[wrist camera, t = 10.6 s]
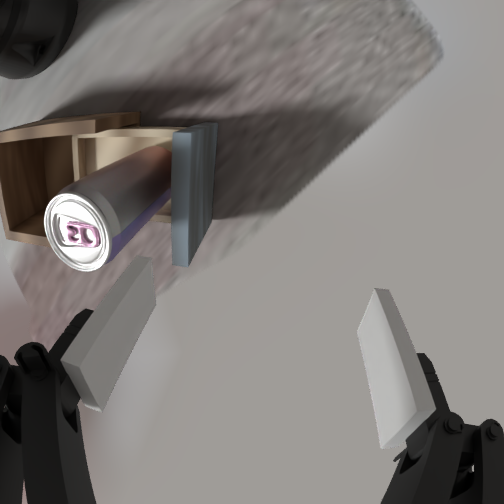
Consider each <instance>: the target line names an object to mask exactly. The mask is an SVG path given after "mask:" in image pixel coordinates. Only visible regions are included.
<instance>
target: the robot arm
mask: <svg viewBox="0 0 504 504" xmlns="http://www.w3.org/2000/svg"><path fill="white" fill-rule="evenodd" d="M76 13H77V0H0V76H3V77H5V78H8V79H24V78H30V77H33V76H35V75H37V74H39V73H40V72H41V71H43V70H44V69H45V68H46V67H47V66H48V65H49V64H50V63H51V62H52V61H53V60H54V59H55V58H56V56H57V55H58V54H59V52H60V51H61V49H62V48H63V46H64V44H65V43H66V41H67V39H68V37H69V35H70V32H71V30H72V27H73V24H74V21H75V17H76ZM155 306H156V299H155V289H154V278H153V266H152V258H150V257H144V256H136V257H135V259H134V260H133V261H132V262H131V263H130V265H129V266H128V267H127V268H126V270H125V271H124V272H123V274H122V275H121V276H120V277H119V279H118V280H117V281H116V283H115V284H114V285H113V286H112V288H111V289H110V290H109V292H108V293H107V294H106V296H105V297H104V298H103V300H102V301H101V302H100V304H99V305H98V306H97V308H96V309H95V311H93V310H89V309H84V310H83V311H81V312H80V313H78V314H77V315H76V316H75V317H74V318H73V320H72V321H71V322H70V324H69V326H67V328H66V329H65V330H64V333H62V334H61V336H60V337H59V339H58V340H57V341H56V343H55V344H54V346H53V347H52V348H51V350H50V351H49V353H48V352H47V350H46V348H45V347H44V346H43V345H42V344H40V343H38V342H30V343H27V344H25V345H23V346H21V347H20V348H19V349H18V351H17V352H16V354H15V357H14V359H15V360H16V362H17V364H18V365H19V366H15V365H10V364H9V362H8V360H7V359H6V358H5V357H4V356H2V355H0V504H22V492H23V482H24V481H25V489H26V496H27V503H28V504H96V501H95V497H94V493H93V489H92V484H91V480H90V476H89V471H88V466H87V461H86V455H85V450H84V443H83V436H82V430H81V421H80V413H79V409H78V406H77V404H78V402H79V400H80V398H81V399H82V401H83V403H84V405H85V406H86V407H89V408H91V409H94V410H97V411H99V412H103V410H104V408H105V406H106V403H107V401H108V399H109V397H110V395H111V393H112V391H113V389H114V386H115V384H116V382H117V380H118V378H119V376H120V374H121V372H122V370H123V368H124V366H125V364H126V362H127V360H128V358H129V356H130V354H131V352H132V350H133V348H134V346H135V344H136V342H137V340H138V338H139V336H140V334H141V332H142V330H143V328H144V327H145V325H146V323H147V321H148V319H149V317H150V315H151V313H152V311H153V309H154V308H155ZM357 335H358V339H359V343H360V347H361V351H362V355H363V360H364V364H365V369H366V373H367V378H368V382H369V387H370V392H371V397H372V402H373V407H374V413H375V418H376V423H377V429H378V435H379V441H380V447H381V449H384V448H393V447H399V445H401V444H402V443H403V442H404V441H405V440H406V444H407V448H406V449H404V450H403V451H402V452H401V453H400V454H399V455H398V456H397V457H395V459H394V460H393V461H394V462H396V461H397V460H398V459H400V461H399V463H398V466H397V468H396V471H395V473H394V475H393V478H392V480H391V482H390V485H389V487H388V489H387V491H386V493H385V495H384V497H383V499H382V502H381V504H504V433H503V429H502V427H501V425H500V424H499V423H498V422H497V421H495V420H493V419H487V420H486V421H484V422H483V423H482V424H481V425H480V426H475V425H469V424H464V421H463V419H462V418H461V417H460V416H459V415H457V414H456V413H454V412H450V409H449V407H448V404H447V401H446V398H445V395H444V393H443V390H442V387H441V385H440V382H438V381H439V379H438V377H437V375H436V374H435V369H434V367H433V364H432V362H431V361H430V360H429V359H428V357H427V356H426V355H425V354H424V353H416V351H415V349H414V346H413V344H412V341H411V339H410V337H409V334H408V332H407V329H406V327H405V324H404V322H403V320H402V318H401V315H400V313H399V311H398V308H397V306H396V304H395V302H394V300H393V297H392V295H391V293H390V291H389V290H386V289H377V288H375V289H374V291H373V294H372V297H371V299H370V301H369V304H368V307H367V309H366V312H365V314H364V316H363V319H362V321H361V323H360V326H359V328H358V330H357ZM4 407H5V408H4ZM473 465H474V472H473V471H472V466H473Z"/></svg>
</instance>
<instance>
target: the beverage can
mask: <svg viewBox="0 0 504 504" xmlns="http://www.w3.org/2000/svg"><path fill="white" fill-rule="evenodd" d="M171 166H172V152H170V151H169V150H167V149H165V148H163V147H159V146H150V147H147V148H144V149H142V150H140V151H137V152H135V153H133V154H130V155H128V156H126V157H124V158H122V159H119V160H117V161H115V162H113V163H111V164H109V165H107V166H105V167H103V168H101V169H99V170H97V171H95V172H93V173H91V174H89V175H87V176H85V177H83V178H81V179H79V180H77V181H75V182H74V183H72V184H70V185H68V186H66V187H65V188H63V189H62V190H61V191H60V192H59V193H58V194H57V195H56V196H55V197H54V198H53V199H52V200H51V201H50V202H49V204H48V206H47V208H46V212H45V218H44V224H45V231H46V235H47V238H48V241H49V243H50V245H51V247H52V248H53V250H54V251H55V253H56V254H57V255H58V257H59V258H60V259H61V260H62V261H63V262H65V263H66V264H67V265H69V266H70V267H72V268H74V269H76V270H79V271H84V272H91V271H95V270H98V269H100V268H101V267H102V266H103V265H105V264H107V263H109V262H110V261H111V260H113V259H114V257H115V256H116V255H117V254H118V253H119V252H120V251H121V250H122V249H123V247H124V246H125V245H126V244H127V243H128V242H129V241H130V240H131V239H132V238H133V237H134V236H135V235H136V233H137V232H138V231H139V230H140V229H141V228H142V227H143V226H144V225H145V224H146V223H147V222H148V221H149V220H150V219H151V218H152V217H153V216H154V215H155V214H156V213H157V212H158V211H159V210H160V209H161V208H162V207H163V206H164V205H165V204H166V203H167V202H168V201H169V200H170V199H171Z"/></svg>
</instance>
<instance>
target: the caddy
mask: <svg viewBox="0 0 504 504" xmlns="http://www.w3.org/2000/svg"><path fill="white" fill-rule="evenodd" d="M140 113H141V112H119V113H102V114H90V115H79V116H70V117H61V118H54V119H47V120H40V121H36V122H32V123H28V124H24V125H20V126H17V127H13V128H10V129H6V130H3V131H0V213H1V218H2V222H3V227H4V231H5V235H6V239H9V240H14V241H19V242H24V243H30V244H35V245H40V246H45V247H51V245H50V243H49V241H48V238H47V235H46V231H45V224H44V218H45V212H46V208H47V206H48V204H49V202H50V201H51V200H52V199H53V198H54V197H55V196H56V195H57V194H58V193H59V192H60V191H61V190H62V189H63V188H65V187H66V186H68V185H70V184H72V183H74V182H75V180H74V167H73V150H72V135H78V134H95V133H99V132H103V131H106V130H110V129H114V128H118V127H140ZM51 248H52V247H51Z"/></svg>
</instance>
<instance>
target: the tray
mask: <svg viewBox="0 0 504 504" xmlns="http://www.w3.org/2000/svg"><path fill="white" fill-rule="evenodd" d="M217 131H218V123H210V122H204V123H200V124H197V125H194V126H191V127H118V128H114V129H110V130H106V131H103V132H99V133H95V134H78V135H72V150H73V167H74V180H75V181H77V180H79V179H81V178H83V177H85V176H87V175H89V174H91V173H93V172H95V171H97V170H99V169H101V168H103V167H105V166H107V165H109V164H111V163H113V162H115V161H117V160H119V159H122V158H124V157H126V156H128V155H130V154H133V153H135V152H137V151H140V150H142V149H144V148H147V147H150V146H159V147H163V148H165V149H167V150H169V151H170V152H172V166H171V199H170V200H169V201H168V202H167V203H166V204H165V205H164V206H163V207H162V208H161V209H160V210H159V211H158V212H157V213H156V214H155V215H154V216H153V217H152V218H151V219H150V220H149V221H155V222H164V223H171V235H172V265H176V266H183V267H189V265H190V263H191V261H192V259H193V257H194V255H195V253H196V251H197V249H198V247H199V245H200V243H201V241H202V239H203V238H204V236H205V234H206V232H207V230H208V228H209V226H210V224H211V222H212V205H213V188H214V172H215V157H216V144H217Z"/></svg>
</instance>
